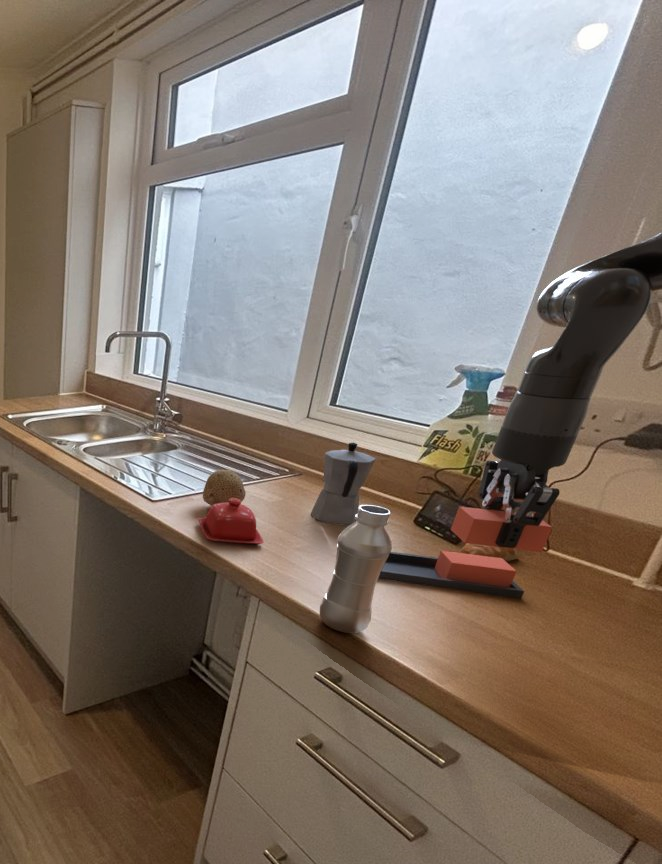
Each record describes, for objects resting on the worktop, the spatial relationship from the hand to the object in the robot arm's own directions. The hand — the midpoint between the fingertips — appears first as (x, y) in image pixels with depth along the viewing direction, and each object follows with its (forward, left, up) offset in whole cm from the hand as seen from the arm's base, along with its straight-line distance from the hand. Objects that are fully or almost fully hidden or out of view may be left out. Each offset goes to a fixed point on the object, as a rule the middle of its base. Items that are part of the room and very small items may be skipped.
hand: (494, 537), depth 79 cm
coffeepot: (+11, -38, -15) cm, 42 cm away
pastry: (-13, -27, -15) cm, 34 cm away
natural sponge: (+35, -36, -15) cm, 52 cm away
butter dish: (+34, -21, -15) cm, 42 cm away
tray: (0, -14, -14) cm, 20 cm away
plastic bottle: (+19, +9, -15) cm, 25 cm away
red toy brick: (0, 0, 0) cm, 0 cm away
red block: (-6, -14, -14) cm, 21 cm away
